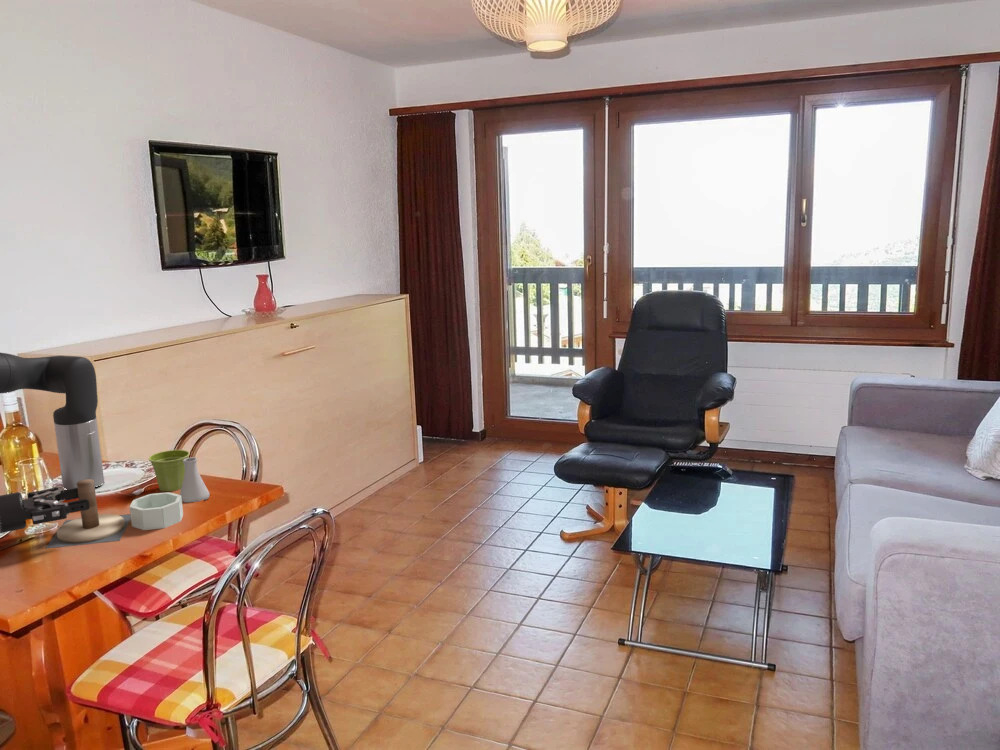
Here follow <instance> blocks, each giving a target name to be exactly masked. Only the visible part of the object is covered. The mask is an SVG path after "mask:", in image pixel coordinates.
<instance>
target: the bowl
mask: <svg viewBox="0 0 1000 750" xmlns="http://www.w3.org/2000/svg"><path fill="white" fill-rule="evenodd" d="M183 509H184V508H183V502H182V498H181V495H179V493H178V494H177V493H174V492H171V491H165V492H159V493H158V492H156V493H149V494H146V495H143V496H140V497H137V498H135V499H133V500H132V501H131V503H130V506H129V512H130V513H129V514H130V515H131V520H130V523H131V527H132V528H135V529H139V530H142V531H148V530H149V531H150V530H158V529H165V528H168V527H171V526H173V525H175V524H179V523H181V521H182V519H183V517H184V511H183Z"/></svg>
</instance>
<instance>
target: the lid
mask: <svg viewBox="0 0 1000 750" xmlns="http://www.w3.org/2000/svg"><path fill="white" fill-rule="evenodd" d="M77 488H78V496H79V498H78V500H82V499H88V501H89V509H88V510H83V511H80V516H81V517H78V518H75V519H71V520H72V521H70V522H67V523H65V524H64V525H63V524H61V526H59V527H58V528H57V529H56V533H57V538H58V539H59V540H60V541H63V542H68V543H83V542H91V541H96V540H100V539H104V538H107V537H109V536H112V535H114V534H116V533H118V532H120V531H121V530H122V529H123V528H124V527H125V521H124V518H123V517H121V516H119V515H120V514H114V513H113V514H111V513H110V514H109V513H103V514H100V513H99V511H98V502H97V494H96V488H95V486H94V480H92V479H86V480H81V481H79V482H77Z"/></svg>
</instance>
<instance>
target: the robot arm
mask: <svg viewBox="0 0 1000 750" xmlns="http://www.w3.org/2000/svg"><path fill="white" fill-rule="evenodd" d="M97 384H98V383H97V375H96V370H95V367H94V365H93V362H92V361H91V360H90V359H88V358H86V357H83V356H72V355H53V356H42V357H22V356H18V355H15V354H10V353H6V352H0V394H7V392H8V393H12V392H15V391H19V390H37V391H43V392H49V393H56V394H65V405H64V406H61V407H59V408H57V409H55V410H54V411H53V414H52V416H53V423H54V430H55V431H54V432H55V437H56V445H57V453H58V460H59V468H60V475H61V482H62V488H63V487H64V488H66V489H67V490H64V489H62V488H59V487H52V488H47V489H42V490H41V489H40V490H37V491H30V492H28V493H27V494H26V495H27V497H26V498H25V499H23V495H22V493H21V492H19V491H17V492H13V493H8V494H7V493H5V494H1V495H0V534H3V533H8V532H9V533H10V532H13V531H18V530H23V529H25V528H26V527H27V520H32V524H33V525H40V524H45V523H50V522H56V521H61V520H65V519H66V520H67V518H68V516H69V515H70V514H72V513H76V512H77V513H79V512H81V511H83V510H88V509H89V501H88V499H82V500H79V496H78V488H77V482H79V481H81V480H86V479H92V480H94V486H95V487H96V486H99V485H101V484H102V483H104V484H105V477H104V469H103V459H102V453H101V446H100V445H101V444H100V438H99V437H100V435H99V429H98V423H97V422H98V421H97V409H98V404H99V403H98V401H99V400H98V399H99V398H98V389H97V388H98V386H97ZM76 499H77V500H76ZM64 501H68V502H64Z"/></svg>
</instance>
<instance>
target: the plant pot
mask: <svg viewBox="0 0 1000 750" xmlns="http://www.w3.org/2000/svg"><path fill="white" fill-rule="evenodd" d="M190 453H191V452H189V451H188V450H187V449H186V450H184V449H171V450H170V449H169V450H164V451H160V452H155V453H153V454H151V455H150V456H148V461H149V462H150V463H151V465H152V467H153V470H154V473H155V478H156V480H157V485H158V488H159V491H160V492H173V491H178V490H181V487H182V483H183V479H184V473H185V465H184V463H183V460H184V459H186V458H189V456H190V455H191V454H190Z"/></svg>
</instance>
